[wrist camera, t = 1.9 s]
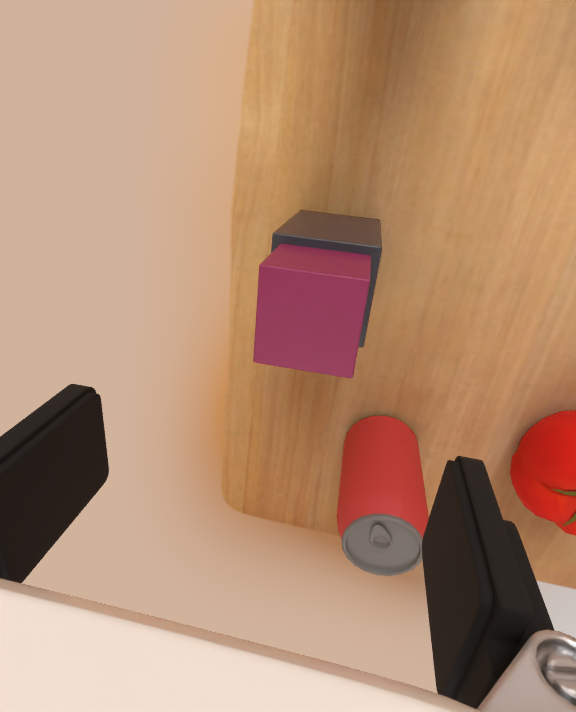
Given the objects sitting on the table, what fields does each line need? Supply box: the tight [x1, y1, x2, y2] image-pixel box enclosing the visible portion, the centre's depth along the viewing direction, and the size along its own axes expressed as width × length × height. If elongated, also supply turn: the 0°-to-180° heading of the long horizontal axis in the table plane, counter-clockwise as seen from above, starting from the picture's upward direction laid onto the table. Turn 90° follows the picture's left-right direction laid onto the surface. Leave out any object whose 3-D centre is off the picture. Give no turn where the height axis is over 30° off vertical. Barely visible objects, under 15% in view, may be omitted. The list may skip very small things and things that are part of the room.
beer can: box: [337, 416, 429, 576], centre depth 35 cm, size 7×7×12 cm
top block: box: [253, 244, 371, 378], centre depth 23 cm, size 5×5×5 cm
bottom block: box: [271, 210, 382, 347], centre depth 29 cm, size 6×6×10 cm
